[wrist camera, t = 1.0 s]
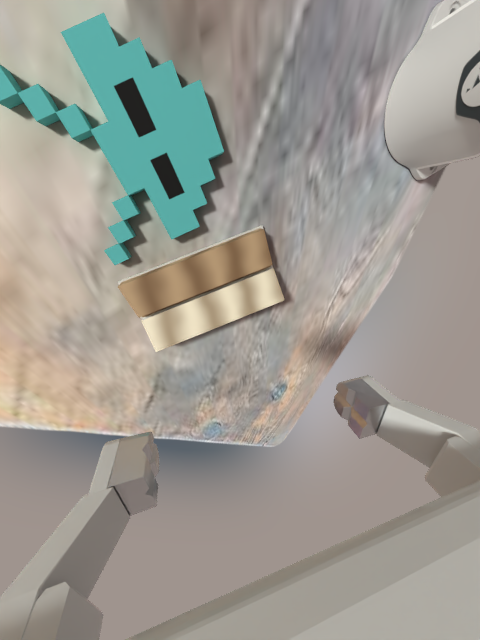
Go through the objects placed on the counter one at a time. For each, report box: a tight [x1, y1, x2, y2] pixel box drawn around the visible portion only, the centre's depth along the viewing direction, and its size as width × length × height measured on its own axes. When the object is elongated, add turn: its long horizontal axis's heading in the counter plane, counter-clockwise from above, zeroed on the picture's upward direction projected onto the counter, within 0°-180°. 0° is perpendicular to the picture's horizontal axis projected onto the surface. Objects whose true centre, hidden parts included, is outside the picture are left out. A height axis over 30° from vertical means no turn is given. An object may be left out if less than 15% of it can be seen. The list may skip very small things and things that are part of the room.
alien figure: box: [0, 13, 224, 265], centre depth 26 cm, size 20×2×20 cm
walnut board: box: [118, 228, 273, 318], centre depth 34 cm, size 23×6×2 cm, turn 108°
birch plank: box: [142, 269, 285, 352], centre depth 36 cm, size 23×6×2 cm, turn 108°
